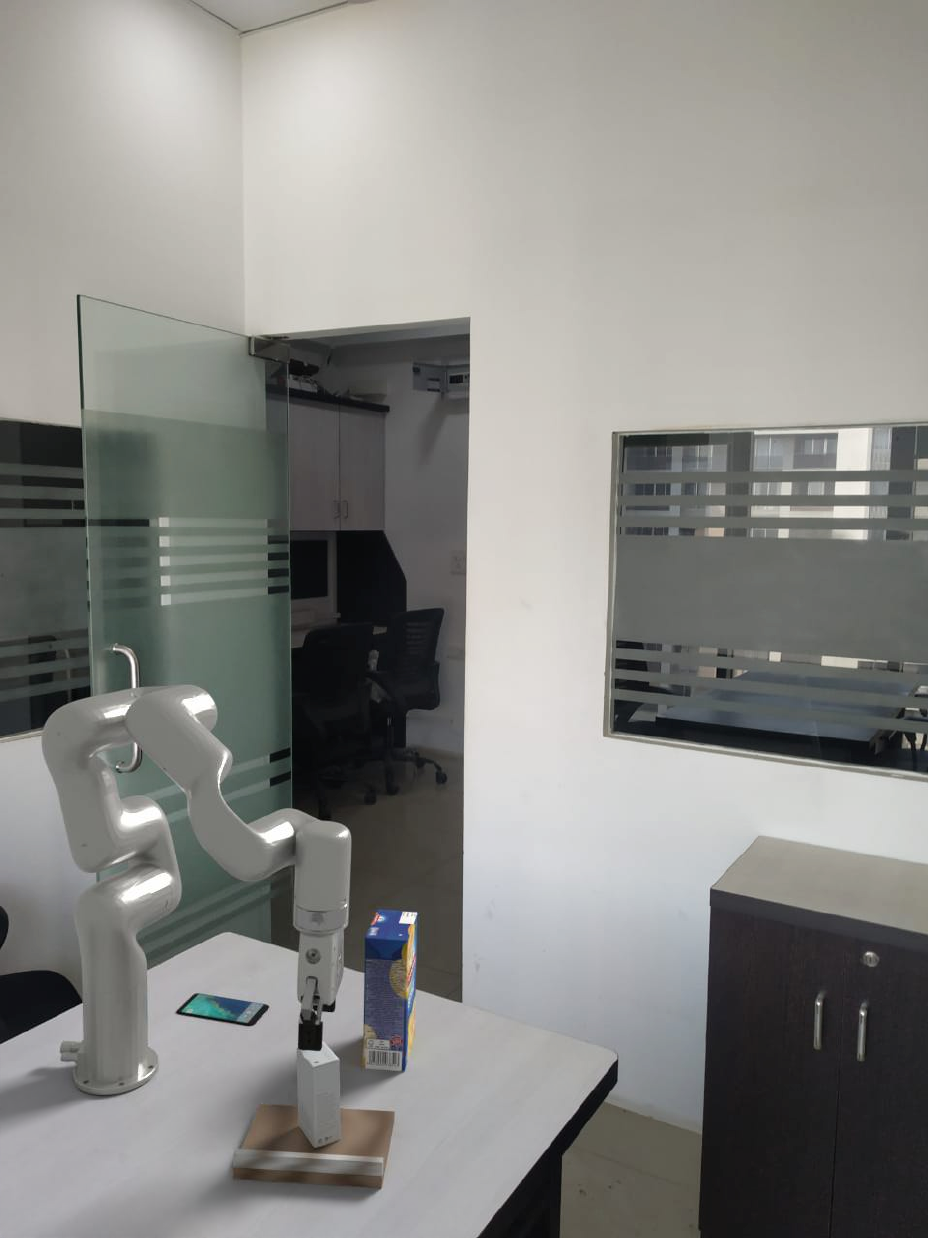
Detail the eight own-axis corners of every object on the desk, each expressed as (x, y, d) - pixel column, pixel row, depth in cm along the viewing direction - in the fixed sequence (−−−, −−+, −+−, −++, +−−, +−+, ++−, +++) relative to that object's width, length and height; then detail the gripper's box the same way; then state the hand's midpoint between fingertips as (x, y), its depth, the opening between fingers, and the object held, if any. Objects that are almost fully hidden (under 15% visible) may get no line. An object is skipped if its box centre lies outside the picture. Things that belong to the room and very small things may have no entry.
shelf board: (233, 1179, 128) (233, 1154, 128) (260, 1113, 142) (260, 1091, 142) (381, 1188, 127) (382, 1163, 127) (394, 1121, 141) (394, 1098, 141)
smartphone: (252, 1025, 165) (174, 1011, 169) (252, 1029, 165) (174, 1015, 169) (270, 1004, 172) (195, 992, 176) (270, 1008, 172) (195, 996, 176)
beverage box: (414, 1034, 164) (417, 912, 162) (404, 1072, 153) (407, 941, 151) (375, 1031, 165) (377, 909, 162) (362, 1068, 154) (364, 938, 151)
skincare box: (342, 1140, 134) (343, 1059, 133) (312, 1151, 132) (313, 1068, 131) (323, 1116, 139) (324, 1037, 138) (294, 1126, 137) (295, 1046, 136)
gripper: (336, 944, 123) (332, 1068, 125) (358, 889, 140) (353, 999, 142) (279, 939, 123) (275, 1063, 125) (307, 885, 140) (303, 995, 143)
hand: (317, 1029), depth 134 cm, fingers open, 9 cm apart
